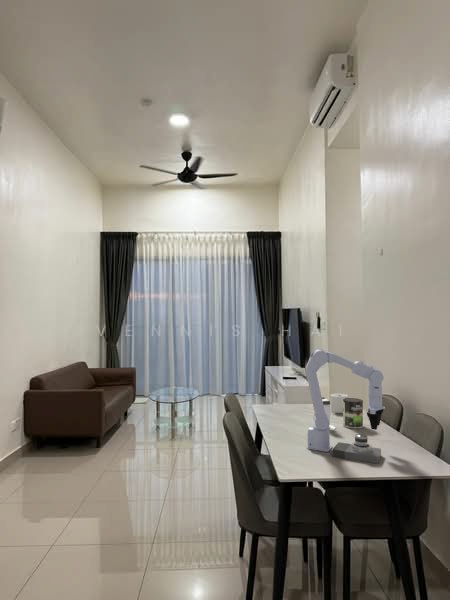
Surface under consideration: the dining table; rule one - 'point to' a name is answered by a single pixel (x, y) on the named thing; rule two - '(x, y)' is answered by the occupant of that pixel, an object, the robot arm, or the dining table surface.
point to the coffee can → (353, 413)
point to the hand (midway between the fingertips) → (375, 427)
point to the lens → (361, 440)
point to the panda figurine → (327, 410)
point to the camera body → (357, 452)
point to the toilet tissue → (337, 402)
